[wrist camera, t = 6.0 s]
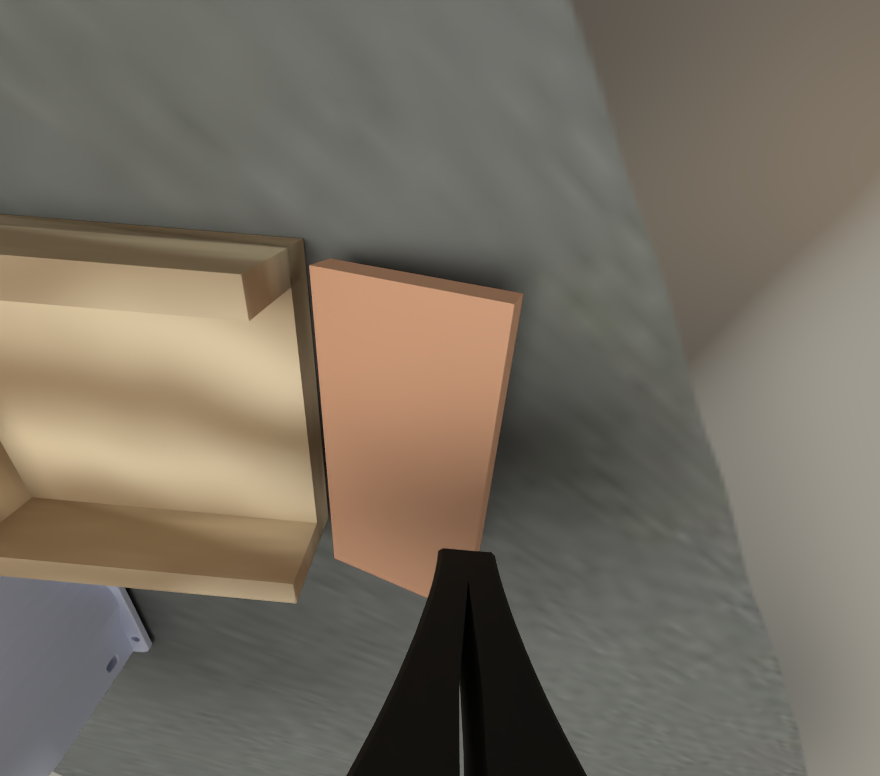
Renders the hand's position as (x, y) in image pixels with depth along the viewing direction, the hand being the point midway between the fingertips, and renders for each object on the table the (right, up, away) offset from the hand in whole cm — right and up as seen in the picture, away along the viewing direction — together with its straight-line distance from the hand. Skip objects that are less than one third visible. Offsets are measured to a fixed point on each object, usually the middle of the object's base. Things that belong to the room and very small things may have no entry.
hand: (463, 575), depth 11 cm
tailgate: (-4, +3, +5) cm, 8 cm away
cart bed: (-13, +5, +7) cm, 15 cm away
